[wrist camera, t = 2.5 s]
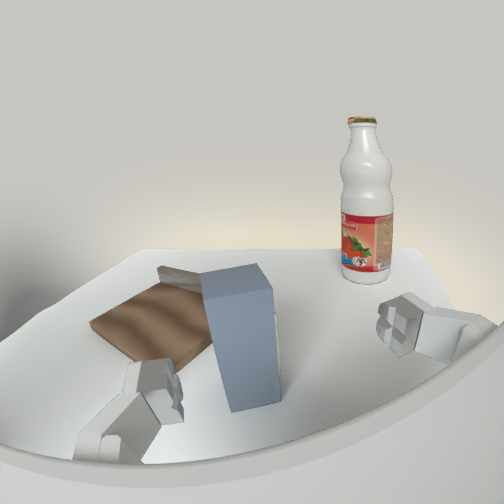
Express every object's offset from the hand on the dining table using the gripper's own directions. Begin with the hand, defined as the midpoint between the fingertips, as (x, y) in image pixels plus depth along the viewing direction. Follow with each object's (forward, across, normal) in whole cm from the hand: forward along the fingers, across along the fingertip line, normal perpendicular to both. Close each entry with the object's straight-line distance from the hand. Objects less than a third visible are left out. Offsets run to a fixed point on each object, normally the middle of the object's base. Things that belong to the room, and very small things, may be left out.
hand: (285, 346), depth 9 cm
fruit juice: (+31, -25, +16) cm, 43 cm away
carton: (+12, +1, +16) cm, 20 cm away
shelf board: (+29, +11, +15) cm, 35 cm away
